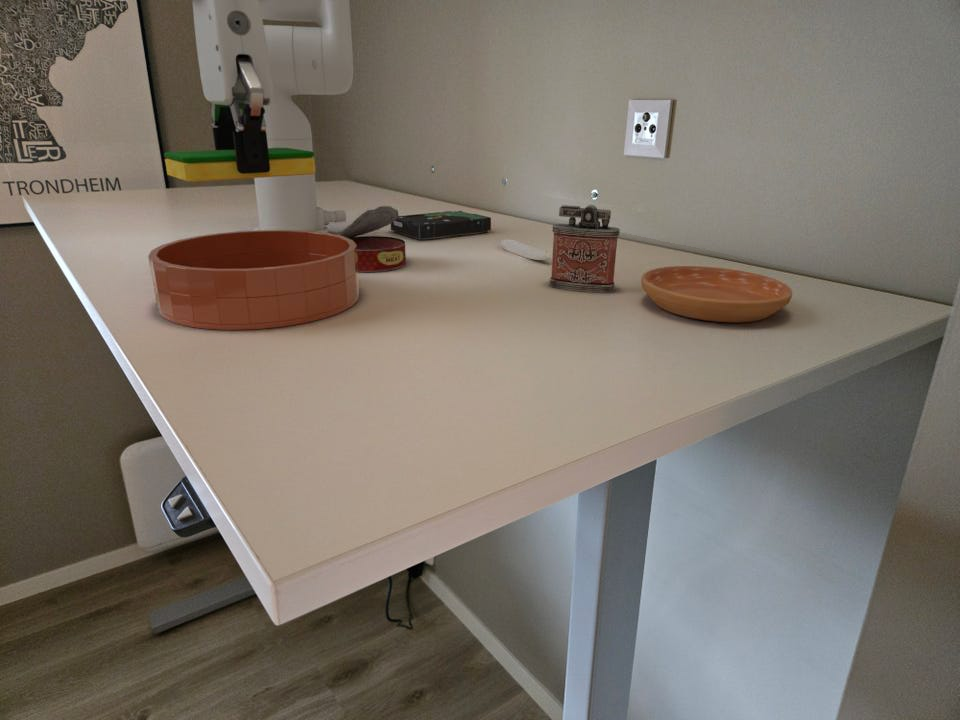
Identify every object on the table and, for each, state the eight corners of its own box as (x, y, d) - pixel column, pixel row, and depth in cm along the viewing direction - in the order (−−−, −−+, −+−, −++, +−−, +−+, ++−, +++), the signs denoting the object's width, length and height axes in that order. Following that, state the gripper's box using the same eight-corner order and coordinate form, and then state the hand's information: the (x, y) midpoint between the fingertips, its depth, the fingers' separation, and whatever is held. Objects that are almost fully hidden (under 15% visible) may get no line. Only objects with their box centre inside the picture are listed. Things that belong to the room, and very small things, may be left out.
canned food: (353, 304, 88) (313, 243, 83) (351, 278, 97) (314, 221, 92) (426, 265, 88) (390, 200, 83) (417, 242, 97) (384, 183, 92)
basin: (319, 268, 88) (315, 224, 86) (390, 308, 71) (388, 254, 69) (143, 291, 77) (134, 240, 75) (180, 344, 60) (170, 281, 58)
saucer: (738, 286, 82) (742, 263, 81) (820, 325, 68) (826, 298, 67) (618, 290, 80) (620, 266, 79) (676, 332, 65) (680, 303, 64)
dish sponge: (317, 174, 72) (315, 151, 71) (187, 182, 64) (183, 156, 63) (289, 168, 77) (287, 147, 76) (166, 175, 69) (162, 151, 68)
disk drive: (420, 242, 107) (492, 232, 115) (420, 225, 106) (492, 216, 114) (389, 232, 114) (458, 223, 123) (388, 216, 113) (458, 208, 122)
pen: (545, 266, 91) (546, 254, 91) (498, 247, 103) (498, 237, 102) (555, 265, 92) (555, 253, 91) (507, 246, 103) (507, 236, 103)
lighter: (615, 287, 81) (623, 205, 77) (611, 294, 78) (619, 209, 75) (552, 281, 84) (557, 201, 80) (546, 287, 81) (550, 205, 77)
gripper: (288, -26, 59) (305, 175, 66) (235, -6, 72) (254, 159, 79) (201, -35, 55) (228, 180, 62) (162, -13, 68) (188, 162, 75)
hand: (242, 167), depth 70 cm, fingers closed on dish sponge, 7 cm apart
